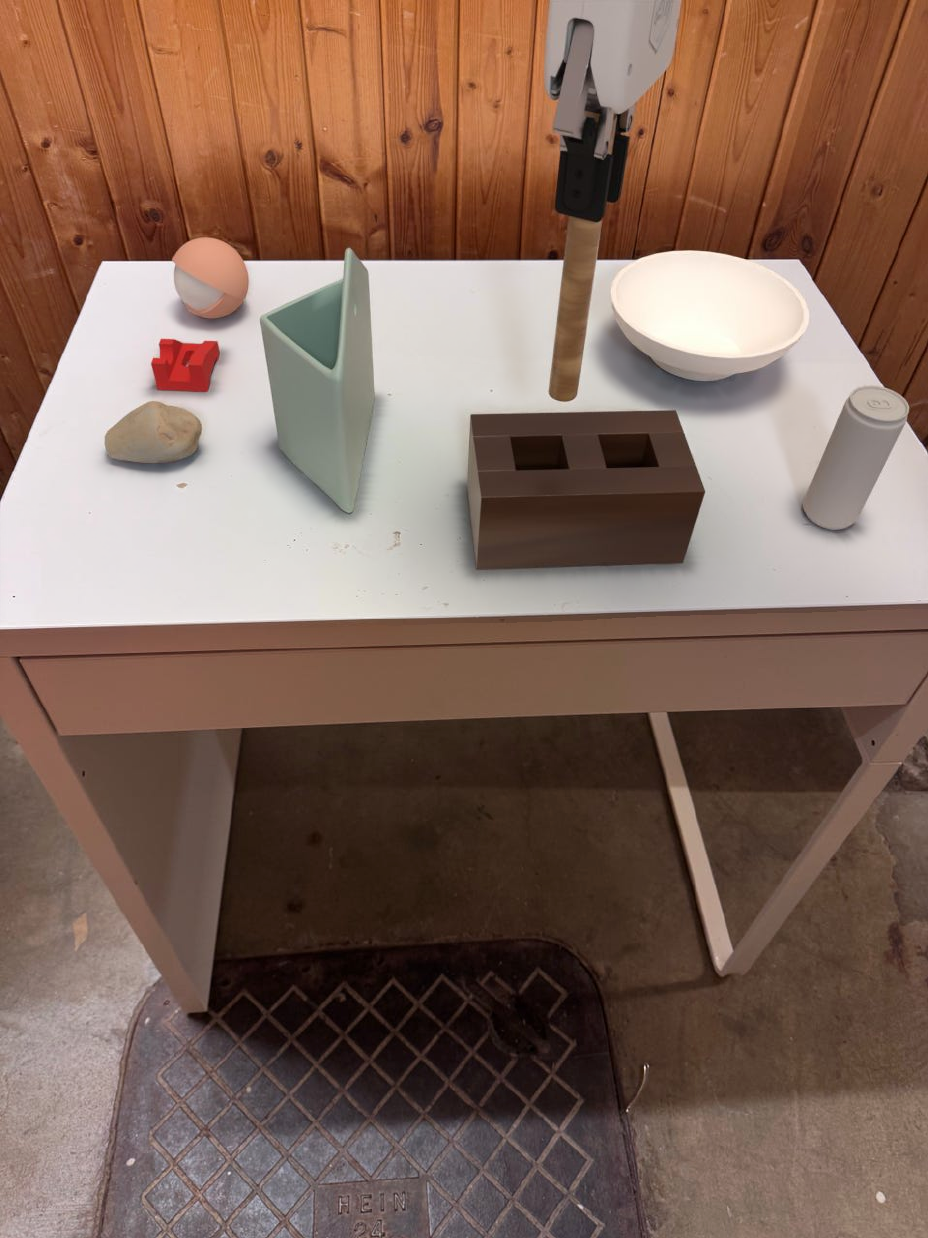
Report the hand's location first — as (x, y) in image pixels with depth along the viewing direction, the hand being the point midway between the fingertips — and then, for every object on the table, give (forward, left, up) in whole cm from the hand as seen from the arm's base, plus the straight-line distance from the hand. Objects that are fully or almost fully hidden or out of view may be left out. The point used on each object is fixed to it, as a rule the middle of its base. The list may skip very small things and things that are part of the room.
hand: (587, 203), depth 59 cm
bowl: (-4, -29, -28) cm, 41 cm away
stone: (+35, +9, -28) cm, 45 cm away
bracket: (+40, -2, -28) cm, 48 cm away
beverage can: (-22, -12, -28) cm, 38 cm away
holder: (-2, 0, -28) cm, 28 cm away
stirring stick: (0, 0, -15) cm, 15 cm away
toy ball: (+44, -12, -28) cm, 53 cm away
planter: (+22, +2, -28) cm, 35 cm away
